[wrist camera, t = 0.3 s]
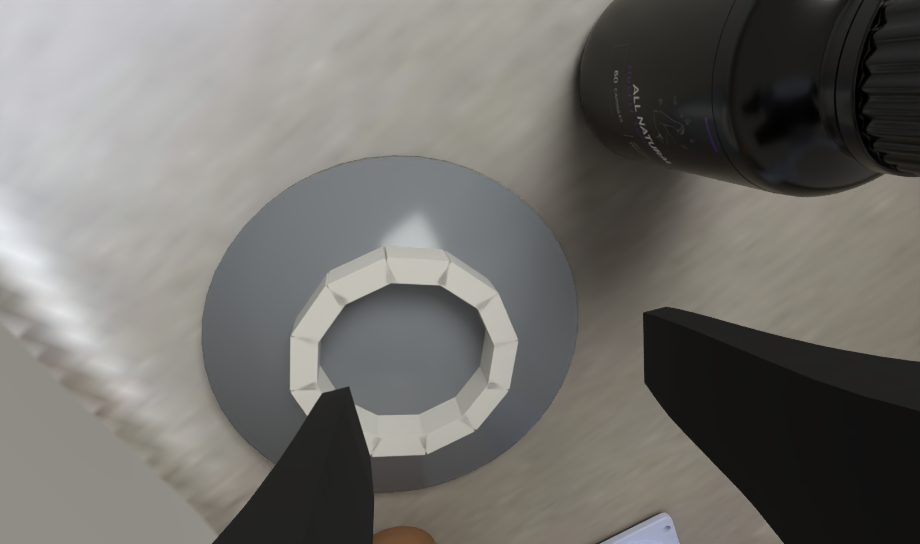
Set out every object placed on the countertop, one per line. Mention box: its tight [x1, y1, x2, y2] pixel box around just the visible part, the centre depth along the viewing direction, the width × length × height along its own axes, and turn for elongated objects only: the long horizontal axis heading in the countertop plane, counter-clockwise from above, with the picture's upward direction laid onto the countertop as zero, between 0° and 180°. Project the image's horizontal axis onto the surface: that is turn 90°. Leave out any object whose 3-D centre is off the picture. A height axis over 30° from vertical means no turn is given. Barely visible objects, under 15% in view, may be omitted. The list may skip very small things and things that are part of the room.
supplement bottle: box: [579, 0, 920, 197], centre depth 13 cm, size 7×7×12 cm
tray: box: [202, 155, 578, 493], centre depth 20 cm, size 16×16×2 cm
